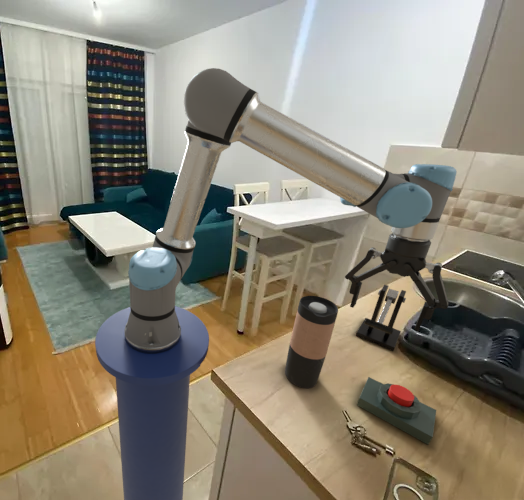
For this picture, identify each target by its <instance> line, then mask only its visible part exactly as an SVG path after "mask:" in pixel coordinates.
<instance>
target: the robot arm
mask: <svg viewBox="0 0 524 500" xmlns="http://www.w3.org/2000/svg"><path fill="white" fill-rule="evenodd" d="M182 102H183V110H184V113H185V116H186V118H187V122H186V126H185V129H184V134H185V135H184V136H185V137H186V139H187V144H186V149H185V152H184V155H183V159H182V161H181V165H180V169H179V173H178V176H177V180H176V183H175V186H174V189H173V193H172V197H171V200H170V204H169V206H168V207H169V208H168V211H167V214H166V219H165V220H164V225H163V227H161V228H160V229H158V230H157V231H156V233H155V236H154V240H153V243H152V246H151V247H147V248H145V249H141V250H139V251H137V252H136V253H134V254H133V255H132V257H131V258H130V259H129V264H128V272H127V273H128V274H127V275H128V283H129V304H130V305H129V307H130V308H131V312H130V315H129V318H128V322H127V324H126V326H125V340H126V343H127V344H128V345H129V346H130V347H131V348H132V349H134V350H136V351H138V352H142V353H147V354H157V353H162V352H165V351H168V350H170V349H172V348H173V347H175V346H176V345H177V344H178V342H179V340H180V337H181V326H180V324H179V321H178V318H177V315H176V312H175V306H176V290H177V287H178V285H179V283H180V282H181V280H182V278H183V277H184V275H185V273H186V272H187V270H188V269H189V268H190V266H191V264H192V262H193V254H194V250H195V248H196V240H195V238H194V237H193V236H194V234H195V231H196V228H197V225H198V222H199V219H200V216H201V213H202V212H203V208H204V204H205V202H206V199H207V197H208V193H209V190H210V188H211V184H212V181H213V178H214V176H215V173H216V169H217V168H218V167H217V166H218V164H219V162H220V158H221V156H222V153H223V152H224V151H226V150H227V149H229V148H230V147H231V145H232V144H233V143H236V142H240V143H241V144H244V145H245V146H248V147H249V148H250V149H253V150H254V151H256V152H258V153H260V154H261V155H263V156H265V157H266V158H268V159H271V160H272V161H274V162H276V163H278V164H280V165H282V166H283V167H285V168H287V169H289V170H290V171H292V172H294V173H296V174H297V175H299V176H301V177H303V178H305V179H306V180H309V181H311V182H312V183H314V184H315V185H318V186H319V187H321V188H323V189H325V190H327V191H328V192H330V193H332V194H334V195H336V196H338V197H339V200H340V202H341V204H342V205H344V206H349V207H353V208H356V207H357V208H358V209H360V210H362V211H363V212H366V213H367V214H369V215H371V216H373V217H374V218H376V219H378V221H379V222H381V223H382V224H385V225H386V226H389V227H391V229H390V230H391V231H390V232H391V233H390V234H389V236H388V239H387V242H386V244H385V249H384V251H380V250H378V249H376V248H375V247H370V248H369V249H368V250H367V253H366V254H365V256H364V257H363V258H362V259H361V260H360V261H359V262H357V264H356V265H355V266H354V267H353V268H351V269H350V270H349V271H348V272H347V273H346V274H345V276H344V278H345V280H349V281H350V283H351V284H350V288H349V294H351V295H352V299H351V301H350V304H349V307H350V308H355V306H356V305H357V302H358V299H359V295H360V292H361V289H362V285H363V281H365V280H367V279H369V278H371V277H373V276H375V275H377V274H380V273H382V272H384V271H387V272H389V274H392V275H398V276H400V277H403V278H406V277H410V279H411V281H412V283H414V284H415V286H416V287H417V289H418V291H419V292H420V294H421V296H422V297H423V299H424V304H423V306H422V308H421V311H420V313H419V316H418V318H417V321H416V324H415V326H414V331H417V332H419V331H420V328H421V326H422V323H423V321H424V319H425V320H431V319H432V317H433V314H434V312H435V309H443V310H447V309H448V308H449V299H448V295H447V291H446V288H445V284H444V281H443V276H442V268H443V263H441V262H435V263H432V262H427V261H426V258H427V256H428V253H429V250H430V248H431V245H432V242H431V240H434V238H435V234H436V232H437V229H438V226H439V224H440V221H441V220H440V219H441V218H442V215H443V212H444V210H445V209H446V205H447V202H448V200H449V197H450V194H451V193H452V192H453V188H454V184H455V181H456V176H457V173H458V172H457V169H456V168H455V167H454V166H451V165H446V164H445V165H443V164H431V163H429V164H428V163H416V164H413V165H412V166H411V167H410V169H409V170H408V172H407V173H393V172H391V171H389V170H387V169H385V168H384V167H382V166H380V165H378V164H377V163H375V162H373V161H371V160H369V159H367V158H366V157H364V156H362V155H360V154H358V153H356V152H354V151H353V150H350V149H349V148H347V147H345V146H344V145H342V144H339V143H338V142H336V141H334V140H332V139H330V138H329V137H326V136H325V135H323V134H321V133H319V132H317V131H315V130H313V129H312V128H310V127H309V126H307V125H304V124H303V123H301V122H299V121H297V120H296V119H293V118H292V117H289V116H288V115H286V114H284V113H282V112H281V111H279V110H277V109H275V108H273V107H271V106H270V105H268V104H266V103H264V102H263V101H261V98H260V94H259V92H258V91H256V90H254V89H252V88H250V87H249V86H247V85H245V84H244V83H243V82H241V81H240V80H238V79H237V78H235V77H234V76H233V75H232V74H230V73H229V72H228V71H227V70H224V69H221V68H216V67H212V68H211V67H210V68H206V69H203V70H201V71H199V72H198V73H196V74H195V75H193V77H192V78H191V79H190V80H189V82H188V84H187V85H186V87H185V90H184V93H183V101H182ZM378 257H379V258H380V260H381V262H382V263H380V264H378V265H376V266H374V267H372V268H370V269H368V270H366V271H364V272H362V273H360V274H358V275H356V274H357V273H358V272H359V271H360V270H361V269H362V268H364V267H365V266H366V265H367V264H368V263H369V262H370V261H371V260H375V259H377V258H378ZM424 269H427V271H428V273H429V274H431V275H432V280H433V285H434V289H435V292H436V295H437V299H436V297H435V296H434V295H433V293H432V291H431V289H430V288H429V286H428V284H427V283H426V281H425V280H424V278H423V276H422V274H421V273H420V271H422V270H424Z"/></svg>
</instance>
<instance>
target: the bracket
mask: <svg viewBox="0 0 524 500" xmlns="http://www.w3.org/2000/svg"><path fill="white" fill-rule="evenodd" d="M388 290H389V285H388V284H384V285H383V286H382V288H381V289H379V290H378V293H377V295H378V297H377V301H376V303H375V308H374V310H373V312H372V316H371V318H370V320H373V321H376V322H378V319H379V314H380V312H381V309H382V306H383V303H384V302H385V298H386V295H387V293H388ZM406 293H407V291H406V290H403V289H401V290H400V292H399V294H398V296H397V299H396V302H395V304H394V309H393V310H392V313H391V316H390V319H389V321H388V324H387V326H389V327H392V328H394V325H395V322H396V319H397V317H398V314H399V312H400V309H401V307H402V303H403V304H405V302H406V300H407V298H406V297H405V296H406ZM366 318H367V317H365V318H364V320H363V321H362V322H361V324H360V326H359V328H358V329H357V331H356V334H355V336H356V337H358V338H361V339H363V340H366V341H368V342H371V343H373V344H375V345H378V346H380V347H382V348H385V349H387V350H390V351H392V352H394V350H395V347H396V345H397V343H398V340H399V338H400V335H401V330H399V329H396V328H394V330H393V332H392V334H389V333H386V332H384V331H381V330H378V329H376V328H373V327H371V326H368V325H366V324H364V323H365V320H366Z"/></svg>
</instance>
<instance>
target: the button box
mask: <svg viewBox="0 0 524 500" xmlns="http://www.w3.org/2000/svg"><path fill="white" fill-rule="evenodd" d="M391 385H395V384H394V383H382V382H380V381H378V380H375V379H374V378H372V377H370V376H368V377H367V379H366V382H365V384H364V386H363V388H362V391H361V393H360V395H359V398H358V400H357V403H356V406H357V407H360V408H361V409H363V410H365V411H366V412H369V413H370V414H372V415H374V416H375V417H377V418H378V419H381V420H383V421H385V422H386V423H388V424H390V425H392V426H393V427H395V428H397V429H399V430H401V431H403V432H404V433H406V434H408V435H409V436H411V437H413V438H415V439H417V440H419V441H421V442H422V443H424V444H425V445H430V443H431V442H432V440H433V437H434V431H435V425H436V424H435V422H436V415H437V409H435V408H433V407H431V406H429V405H427V404H426V403H423V402H421V401H420V400H419V399H418V397H417V396H416V395H414V401H413V403H412V405H411V406H410V407H404V406H401V405H399V404H397V403H395V402H393V401H392V400H391V399H390V398H389V396H388V391H389V389H390V386H391Z"/></svg>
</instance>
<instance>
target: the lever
mask: <svg viewBox="0 0 524 500" xmlns="http://www.w3.org/2000/svg"><path fill="white" fill-rule="evenodd" d="M399 294H400V291H399V290H395V289H392V288H388V289H387V292H386V295H385V298H384V302H385V304H384V306H383V308H382V310H381V313H380V316H378V319H377V321H373V320H371V318H368V317H365V318H366V320H365V319H364V320H365V323H364V324H366V325H368V326H371V327H373V328H376V329H378V330H381V331H384V332H386V333H389V334H392V332H393V330H394V329H395V328H394V327H393V328H392V327H389V326H388V325H387V324H384V322H385V320H386V318H387V315H388V313H389V310H390V308H391V306H392V304H393V305H395V304H396V302H397V299H398V297H399Z"/></svg>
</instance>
